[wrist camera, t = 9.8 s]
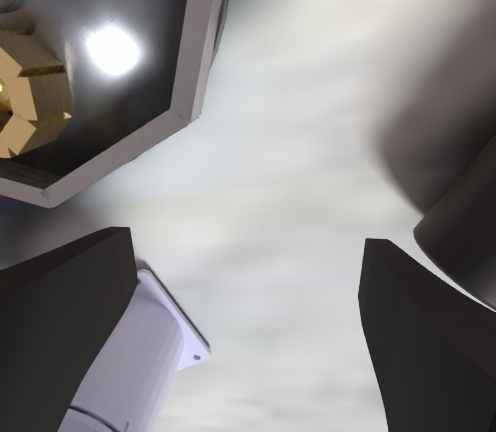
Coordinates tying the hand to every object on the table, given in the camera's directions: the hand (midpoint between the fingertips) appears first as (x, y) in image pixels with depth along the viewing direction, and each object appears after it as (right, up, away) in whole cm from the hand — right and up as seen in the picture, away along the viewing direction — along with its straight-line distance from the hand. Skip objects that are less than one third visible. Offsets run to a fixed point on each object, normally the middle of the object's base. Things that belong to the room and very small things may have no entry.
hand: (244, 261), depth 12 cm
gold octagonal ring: (-11, +8, +8) cm, 16 cm away
